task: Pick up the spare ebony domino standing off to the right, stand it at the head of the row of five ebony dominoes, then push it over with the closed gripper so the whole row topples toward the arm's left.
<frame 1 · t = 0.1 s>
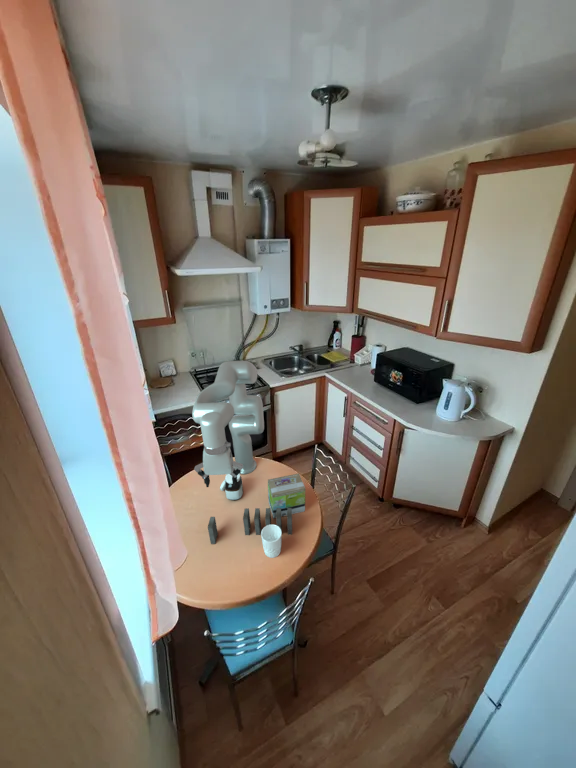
hand: (221, 483, 115), 31 cm above the table, fingers open, 9 cm apart
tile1: (247, 529, 134), on the table
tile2: (258, 529, 133), on the table
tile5: (290, 529, 133), on the table
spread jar: (231, 493, 153), on the table
tile3: (268, 529, 133), on the table
tile0: (214, 538, 130), on the table
tile4: (279, 529, 133), on the table
white cup: (272, 550, 125), on the table
tea box: (286, 507, 144), on the table
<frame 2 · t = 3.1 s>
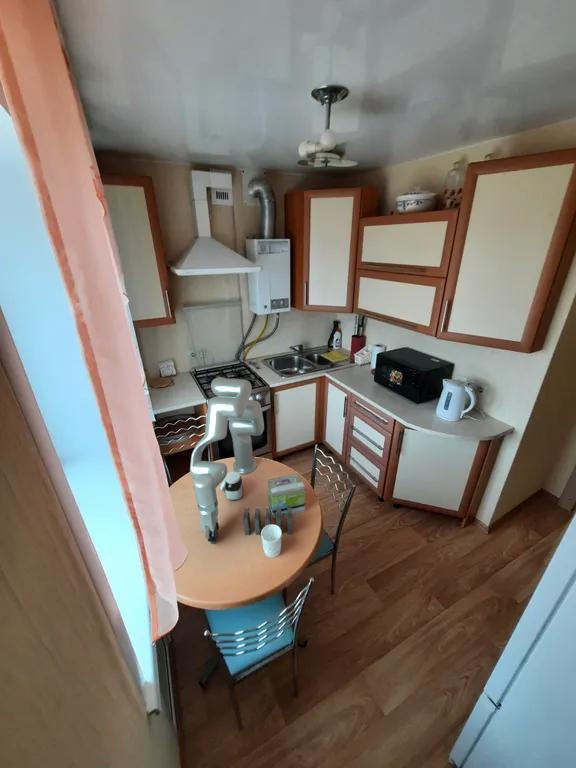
hand: (213, 534, 129), 2 cm above the table, fingers closed on tile0, 4 cm apart
tile0: (214, 538, 130), on the table, touching gripper
everything else where it was.
when the fingers open (3 cm above the table, at t = 8.1 s): tile0 stays where it is, on the table.
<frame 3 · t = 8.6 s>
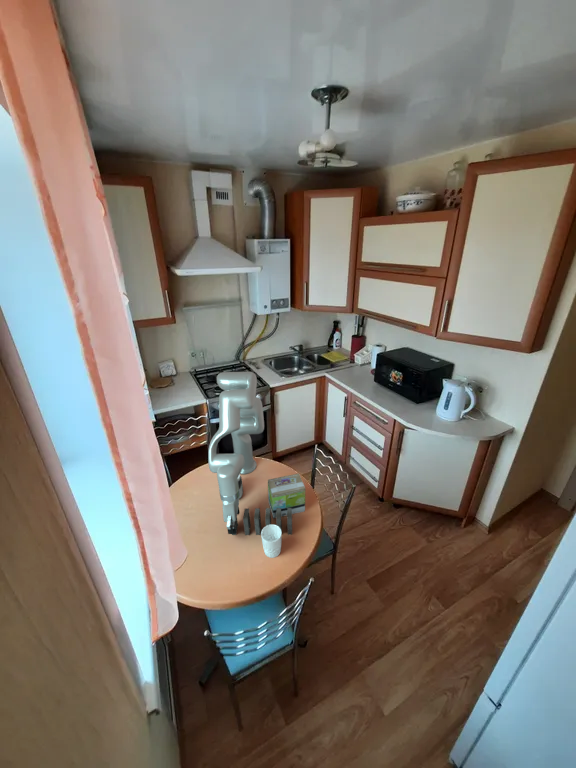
hand: (234, 523, 132), 4 cm above the table, fingers open, 9 cm apart
tile0: (235, 529, 134), on the table
everything else where it was.
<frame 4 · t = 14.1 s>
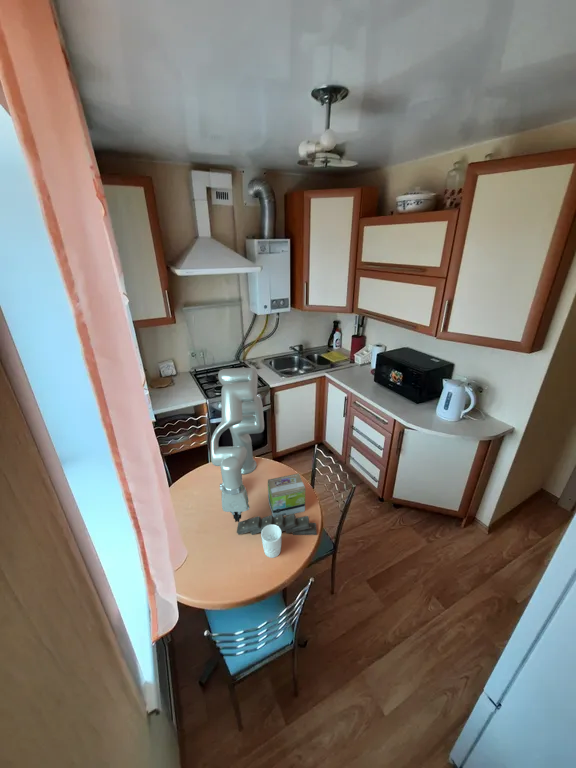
hand: (237, 519, 131), 7 cm above the table, fingers closed
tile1: (251, 528, 133), point 1 cm above the table, tilted 65°, touching tile0
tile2: (262, 528, 133), point 1 cm above the table, tilted 64°, touching tile3
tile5: (292, 529, 133), on the table, tilted 90°, touching tile4
tile3: (274, 528, 133), point 1 cm above the table, tilted 65°, touching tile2, tile4
tile0: (238, 528, 133), point 1 cm above the table, tilted 69°, touching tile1
tile4: (286, 526, 133), point 1 cm above the table, tilted 74°, touching tile3, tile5
everything else where it was.
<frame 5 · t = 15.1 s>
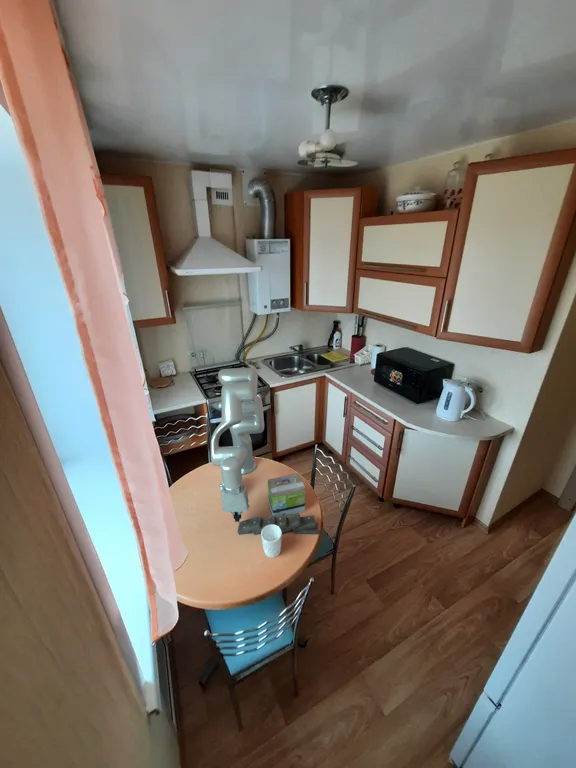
hand: (237, 519, 131), 7 cm above the table, fingers closed
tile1: (253, 528, 133), point 1 cm above the table, tilted 67°, touching tile0, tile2
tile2: (265, 528, 133), point 1 cm above the table, tilted 67°, touching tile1, tile3
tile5: (294, 528, 133), on the table, tilted 90°
tile3: (278, 528, 133), point 1 cm above the table, tilted 63°, touching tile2, tile4
tile4: (292, 525, 133), point 2 cm above the table, tilted 85°, touching tile3
everything else where it was.
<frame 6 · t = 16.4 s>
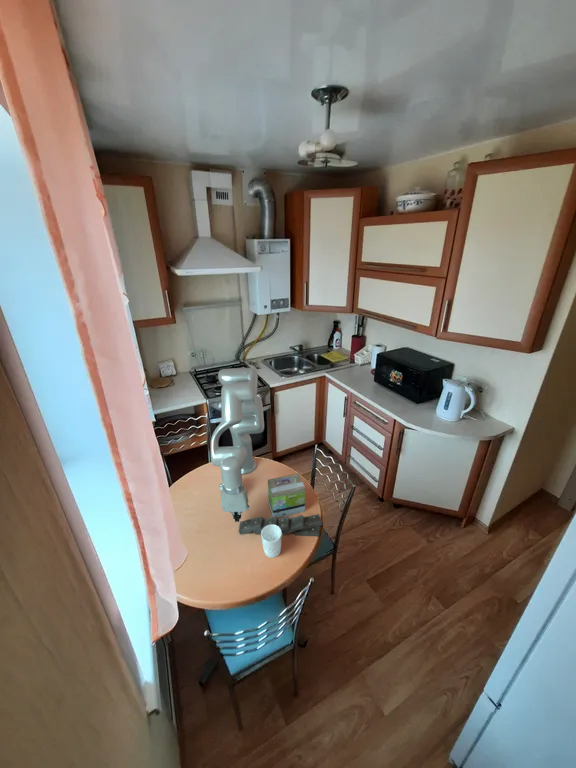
hand: (237, 519, 131), 7 cm above the table, fingers closed
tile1: (255, 528, 133), point 1 cm above the table, tilted 70°, touching tile0
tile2: (267, 529, 133), point 1 cm above the table, tilted 69°
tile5: (295, 530, 133), on the table, tilted 90°, touching tile4
tile3: (282, 529, 132), point 1 cm above the table, tilted 66°
tile4: (298, 524, 133), point 2 cm above the table, tilted 92°, touching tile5
everything else where it was.
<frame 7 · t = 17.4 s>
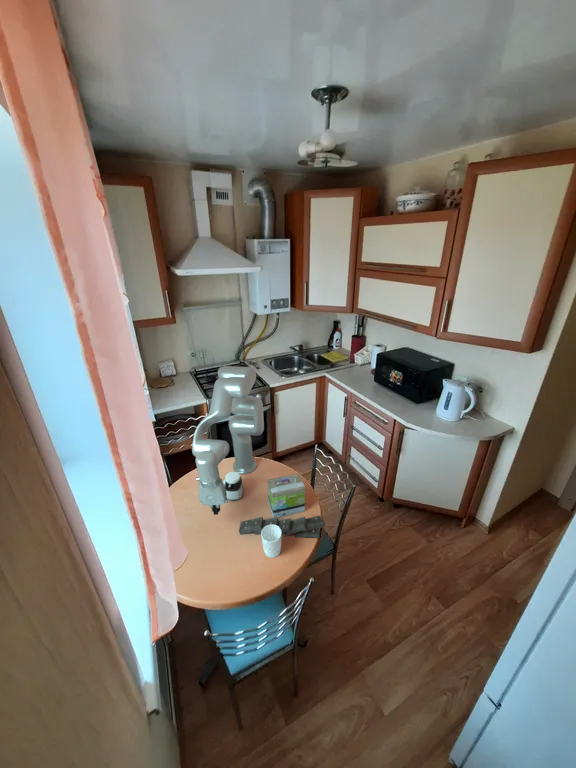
hand: (216, 511, 130), 10 cm above the table, fingers closed
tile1: (255, 528, 133), point 1 cm above the table, tilted 70°, touching tile0, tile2
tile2: (268, 529, 133), point 1 cm above the table, tilted 69°, touching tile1, tile3
tile3: (284, 529, 132), point 1 cm above the table, tilted 65°, touching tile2, tile4
tile4: (300, 526, 132), point 2 cm above the table, tilted 93°, touching tile3, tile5
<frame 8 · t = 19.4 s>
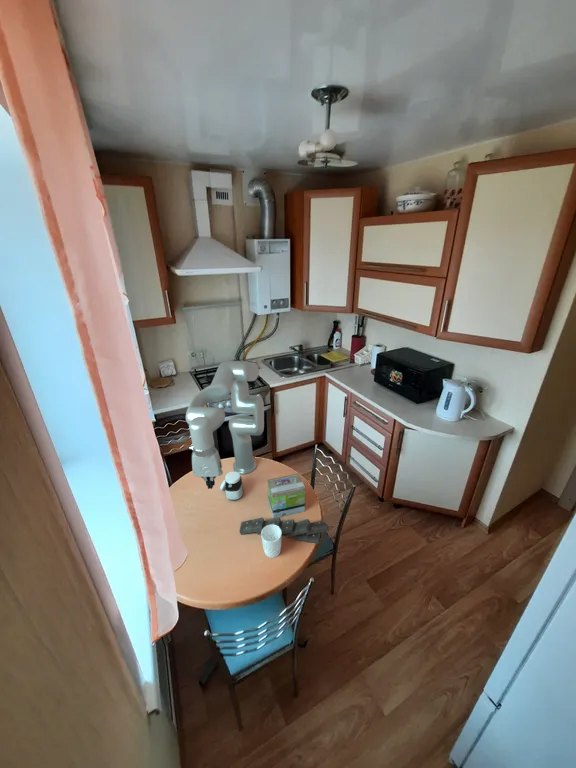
hand: (210, 486, 123), 25 cm above the table, fingers closed
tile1: (257, 528, 133), point 1 cm above the table, tilted 71°, touching tile0
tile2: (271, 529, 132), point 1 cm above the table, tilted 69°, touching tile3
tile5: (295, 534, 130), on the table, tilted 90°
tile3: (287, 531, 132), point 1 cm above the table, tilted 60°, touching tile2, tile4
tile4: (304, 529, 130), point 3 cm above the table, tilted 99°, touching tile3
at the end: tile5 tilted 90°; tile0 inside the target area (1.1 cm from its centre), point 0.9 cm above the table; tile0 tilted 74° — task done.
